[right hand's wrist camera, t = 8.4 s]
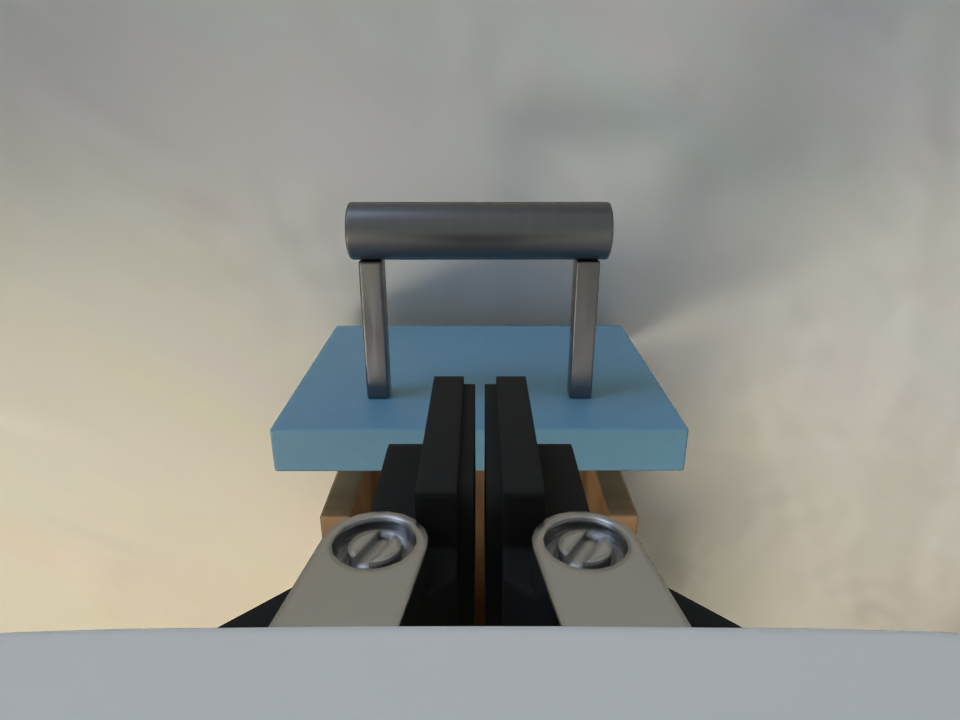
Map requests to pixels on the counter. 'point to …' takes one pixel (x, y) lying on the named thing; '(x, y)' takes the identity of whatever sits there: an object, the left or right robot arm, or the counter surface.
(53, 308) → the counter surface
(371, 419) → the drawer
